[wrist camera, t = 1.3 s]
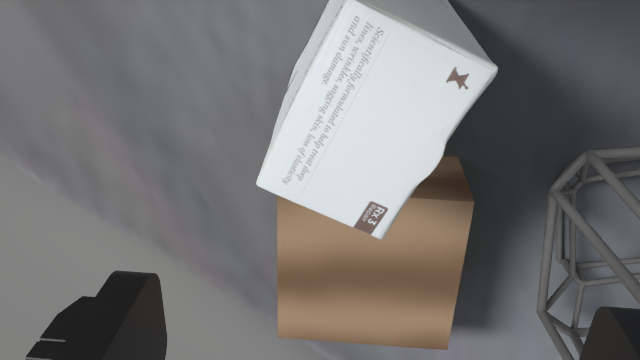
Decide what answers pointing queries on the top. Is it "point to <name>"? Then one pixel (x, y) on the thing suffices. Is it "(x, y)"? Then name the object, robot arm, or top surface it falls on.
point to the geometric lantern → (576, 219)
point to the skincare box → (373, 108)
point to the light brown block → (376, 269)
